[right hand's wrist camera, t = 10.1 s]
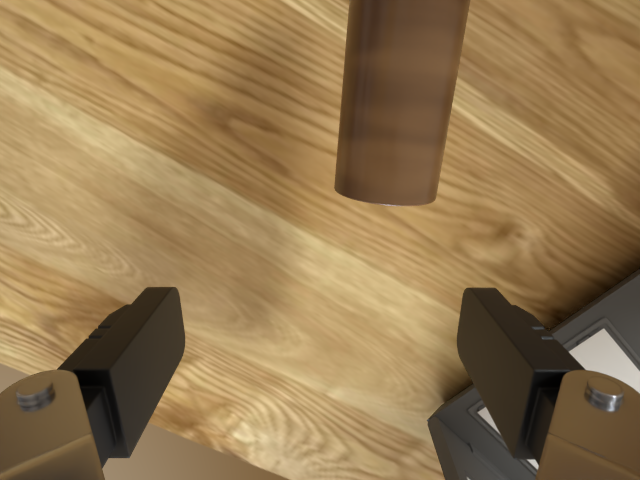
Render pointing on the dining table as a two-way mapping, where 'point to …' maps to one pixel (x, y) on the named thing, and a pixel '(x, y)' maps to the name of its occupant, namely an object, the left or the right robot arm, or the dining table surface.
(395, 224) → the dining table surface
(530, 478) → the laptop
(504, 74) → the dining table surface
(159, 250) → the dining table surface
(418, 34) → the rod
